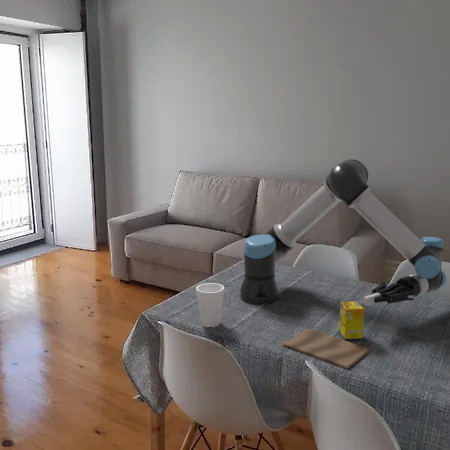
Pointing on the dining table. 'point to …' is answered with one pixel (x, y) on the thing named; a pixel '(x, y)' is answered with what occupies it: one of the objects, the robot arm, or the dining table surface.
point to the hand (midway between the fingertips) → (365, 301)
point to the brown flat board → (327, 348)
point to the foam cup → (210, 303)
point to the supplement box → (351, 321)
